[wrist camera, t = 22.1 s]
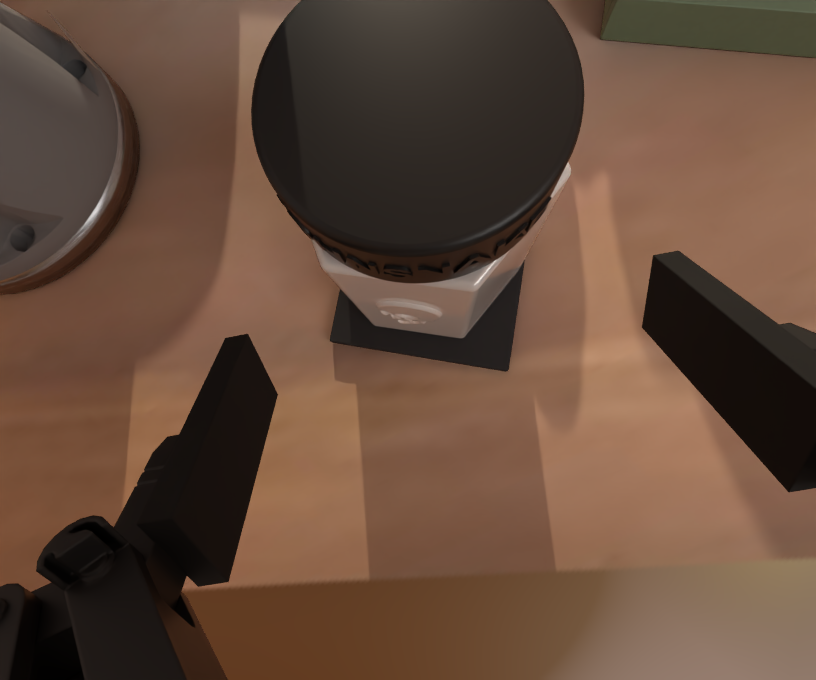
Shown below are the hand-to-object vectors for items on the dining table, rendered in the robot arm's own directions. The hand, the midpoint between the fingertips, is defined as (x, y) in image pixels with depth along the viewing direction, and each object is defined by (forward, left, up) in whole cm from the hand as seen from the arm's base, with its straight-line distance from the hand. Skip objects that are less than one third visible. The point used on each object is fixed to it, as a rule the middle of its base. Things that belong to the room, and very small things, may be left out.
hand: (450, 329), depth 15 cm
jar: (-2, +5, -7) cm, 9 cm away
